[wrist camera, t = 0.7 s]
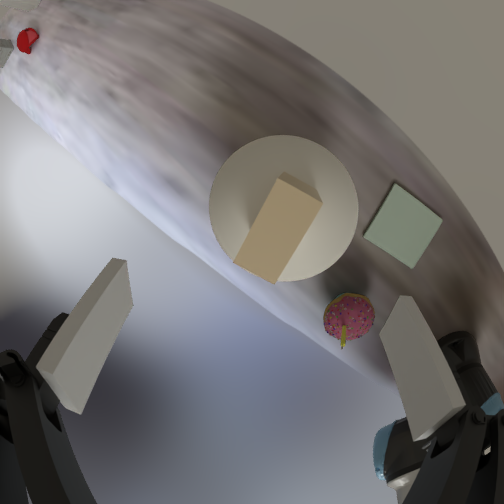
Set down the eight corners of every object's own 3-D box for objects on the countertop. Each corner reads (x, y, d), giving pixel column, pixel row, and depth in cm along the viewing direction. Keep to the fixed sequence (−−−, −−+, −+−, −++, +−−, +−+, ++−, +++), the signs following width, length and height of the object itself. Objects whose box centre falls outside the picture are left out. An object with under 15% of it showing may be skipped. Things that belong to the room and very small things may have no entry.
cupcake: (325, 327, 48) (329, 372, 37) (318, 287, 46) (321, 328, 35) (370, 318, 46) (385, 361, 35) (366, 276, 44) (384, 315, 33)
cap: (24, 29, 32) (9, 44, 31) (29, 22, 29) (13, 38, 28) (38, 43, 39) (24, 59, 38) (45, 37, 36) (29, 53, 36)
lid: (382, 184, 29) (416, 198, 19) (309, 299, 35) (309, 350, 25) (251, 110, 28) (229, 92, 19) (191, 236, 35) (153, 267, 25)
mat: (441, 219, 38) (443, 220, 37) (411, 267, 42) (412, 269, 41) (394, 183, 38) (395, 183, 37) (362, 236, 42) (363, 237, 41)
